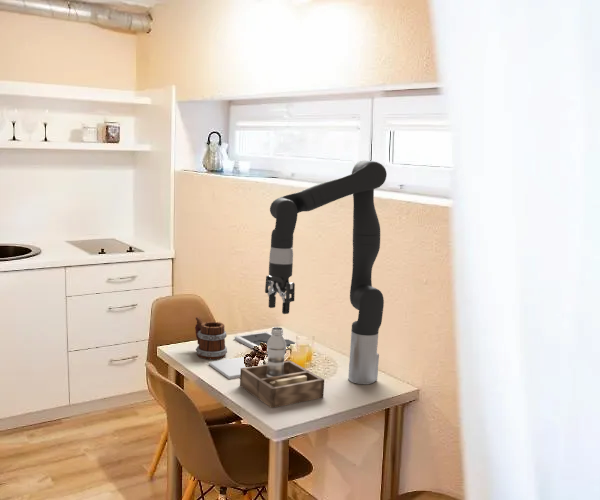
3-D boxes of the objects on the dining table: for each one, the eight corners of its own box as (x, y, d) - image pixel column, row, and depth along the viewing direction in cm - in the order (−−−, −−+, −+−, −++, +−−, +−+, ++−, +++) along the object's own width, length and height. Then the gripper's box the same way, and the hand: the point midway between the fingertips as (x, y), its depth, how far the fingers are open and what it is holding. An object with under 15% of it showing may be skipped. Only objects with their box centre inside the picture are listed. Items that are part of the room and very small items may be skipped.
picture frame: (295, 349, 256) (266, 336, 273) (295, 342, 256) (266, 329, 272) (262, 355, 247) (234, 341, 263) (262, 348, 247) (234, 334, 263)
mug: (211, 362, 233) (208, 321, 233) (186, 359, 243) (183, 319, 242) (235, 355, 242) (231, 315, 242) (210, 352, 252) (207, 314, 251)
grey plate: (248, 358, 240) (248, 356, 240) (270, 372, 227) (270, 369, 227) (208, 364, 231) (208, 362, 231) (229, 379, 218) (229, 376, 218)
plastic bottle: (273, 392, 208) (276, 332, 205) (260, 386, 213) (263, 327, 210) (288, 388, 212) (291, 329, 209) (275, 382, 217) (278, 324, 214)
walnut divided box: (289, 377, 223) (290, 360, 222) (323, 397, 206) (324, 379, 205) (239, 385, 213) (240, 368, 212) (271, 408, 196) (272, 389, 195)
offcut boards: (304, 391, 211) (305, 372, 210) (312, 397, 207) (314, 377, 206) (267, 398, 203) (268, 379, 202) (275, 404, 199) (276, 384, 198)
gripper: (303, 264, 203) (300, 314, 205) (279, 256, 214) (277, 304, 217) (282, 265, 198) (280, 317, 201) (259, 257, 210) (257, 306, 213)
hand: (278, 310), depth 209 cm, fingers open, 8 cm apart
